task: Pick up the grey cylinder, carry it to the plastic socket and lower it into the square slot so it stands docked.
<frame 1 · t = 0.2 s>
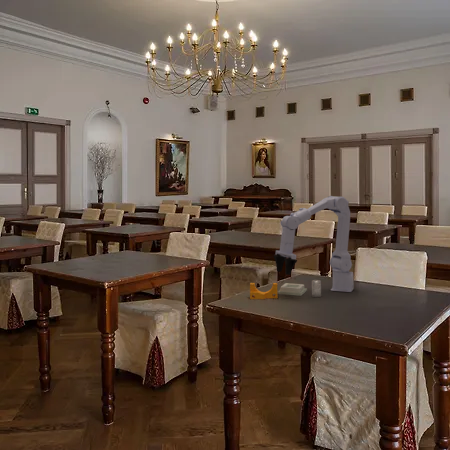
hand: (283, 273, 220), 10 cm above the table, tool pointing down, fingers open, 7 cm apart
socket: (292, 292, 227), on the table
pipe clamp: (263, 298, 217), on the table
grey cylinder: (316, 296, 219), on the table
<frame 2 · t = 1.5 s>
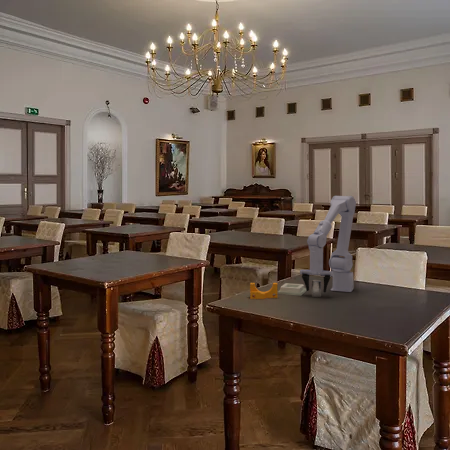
hand: (316, 291, 219), 2 cm above the table, tool pointing down, fingers open, 7 cm apart
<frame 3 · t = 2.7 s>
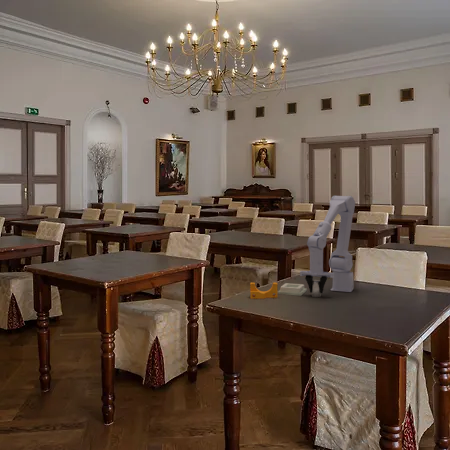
hand: (316, 292, 219), 2 cm above the table, tool pointing down, fingers closed on grey cylinder, 4 cm apart
grey cylinder: (316, 296, 219), on the table, touching gripper
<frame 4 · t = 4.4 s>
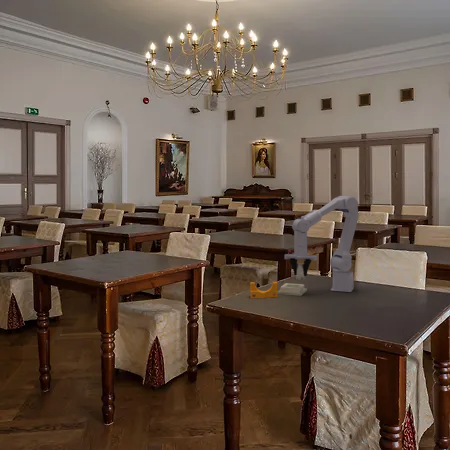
hand: (300, 275, 224), 8 cm above the table, tool pointing down, fingers closed on grey cylinder, 4 cm apart
grey cylinder: (300, 279, 224), point 7 cm above the table, touching gripper
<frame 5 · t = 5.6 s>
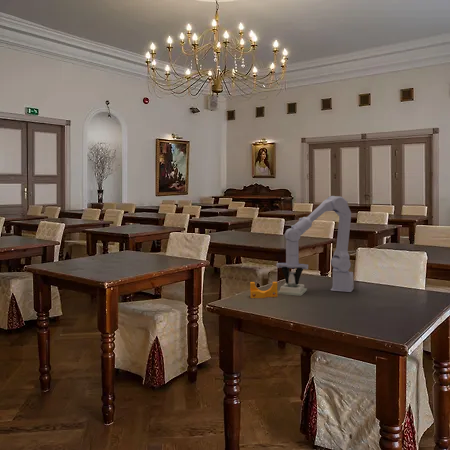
hand: (292, 283, 227), 4 cm above the table, tool pointing down, fingers closed on grey cylinder, 4 cm apart
grey cylinder: (292, 287, 227), point 2 cm above the table, touching gripper
when the fingers open (4 cm above the table, at t = 6.3 s): grey cylinder drops 1 cm, resting on socket.
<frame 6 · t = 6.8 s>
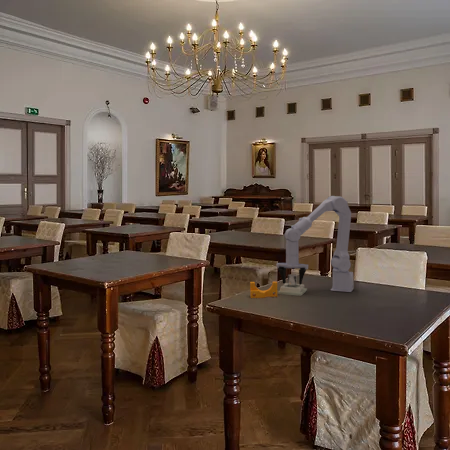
hand: (292, 283, 227), 4 cm above the table, tool pointing down, fingers open, 7 cm apart
grey cylinder: (292, 290, 227), point 1 cm above the table, touching socket
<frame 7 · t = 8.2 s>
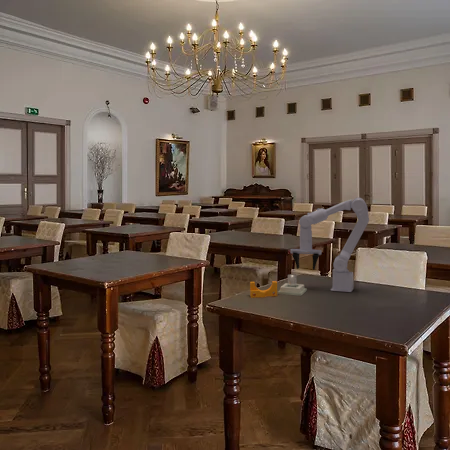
hand: (305, 268, 234), 9 cm above the table, tool pointing down, fingers open, 7 cm apart
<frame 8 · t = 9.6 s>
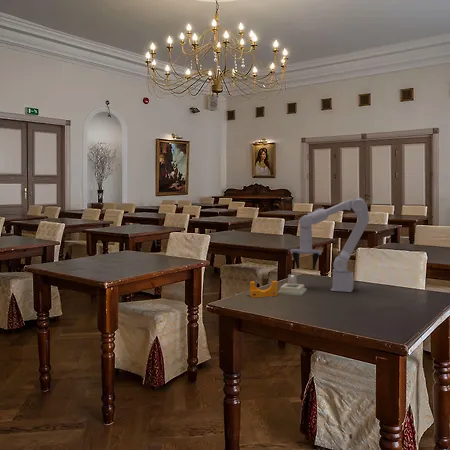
hand: (305, 268, 234), 9 cm above the table, tool pointing down, fingers open, 7 cm apart
at the end: grey cylinder 0.2 cm off-centre on the socket, point 1.0 cm above the socket's base; grey cylinder tilted 1°; the gripper is holding nothing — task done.
